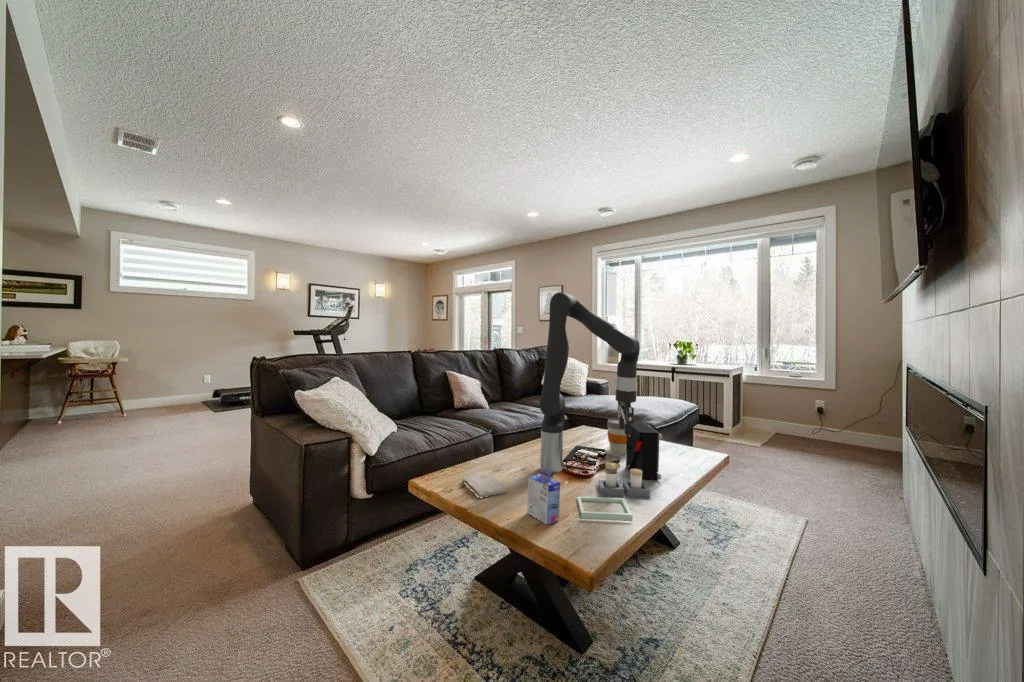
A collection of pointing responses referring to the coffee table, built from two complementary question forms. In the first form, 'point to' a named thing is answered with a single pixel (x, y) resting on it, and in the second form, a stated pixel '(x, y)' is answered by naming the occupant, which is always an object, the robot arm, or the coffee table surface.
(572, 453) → the dark grey flat frame
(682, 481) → the coffee table surface
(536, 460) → the coffee table surface
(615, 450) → the reusable coffee cup
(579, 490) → the coffee table surface
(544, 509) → the ink cartridge box
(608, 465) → the fuse
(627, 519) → the pale green rectangular frame
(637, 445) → the electrical component
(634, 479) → the fuse block
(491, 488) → the washcloth
